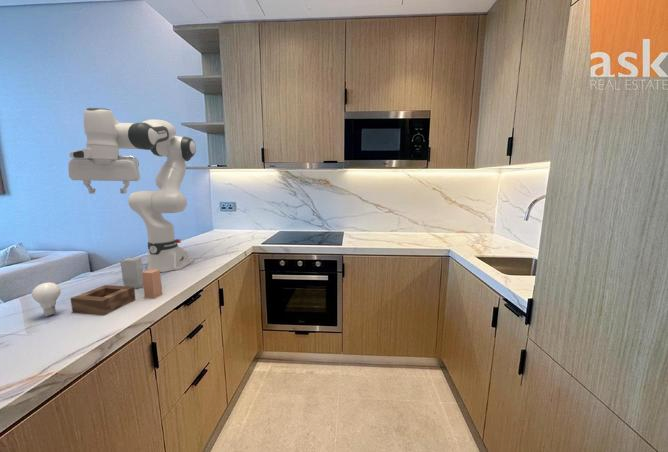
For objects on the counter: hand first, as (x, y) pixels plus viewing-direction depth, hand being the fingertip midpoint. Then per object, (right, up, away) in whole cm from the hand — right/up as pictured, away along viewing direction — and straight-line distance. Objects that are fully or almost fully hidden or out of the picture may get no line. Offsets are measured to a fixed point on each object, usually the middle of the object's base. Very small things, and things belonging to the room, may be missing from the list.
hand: (108, 193), depth 99 cm
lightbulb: (-9, -41, -11) cm, 44 cm away
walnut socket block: (+3, -40, -4) cm, 40 cm away
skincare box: (0, -38, +13) cm, 40 cm away
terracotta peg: (+14, -39, +4) cm, 41 cm away
